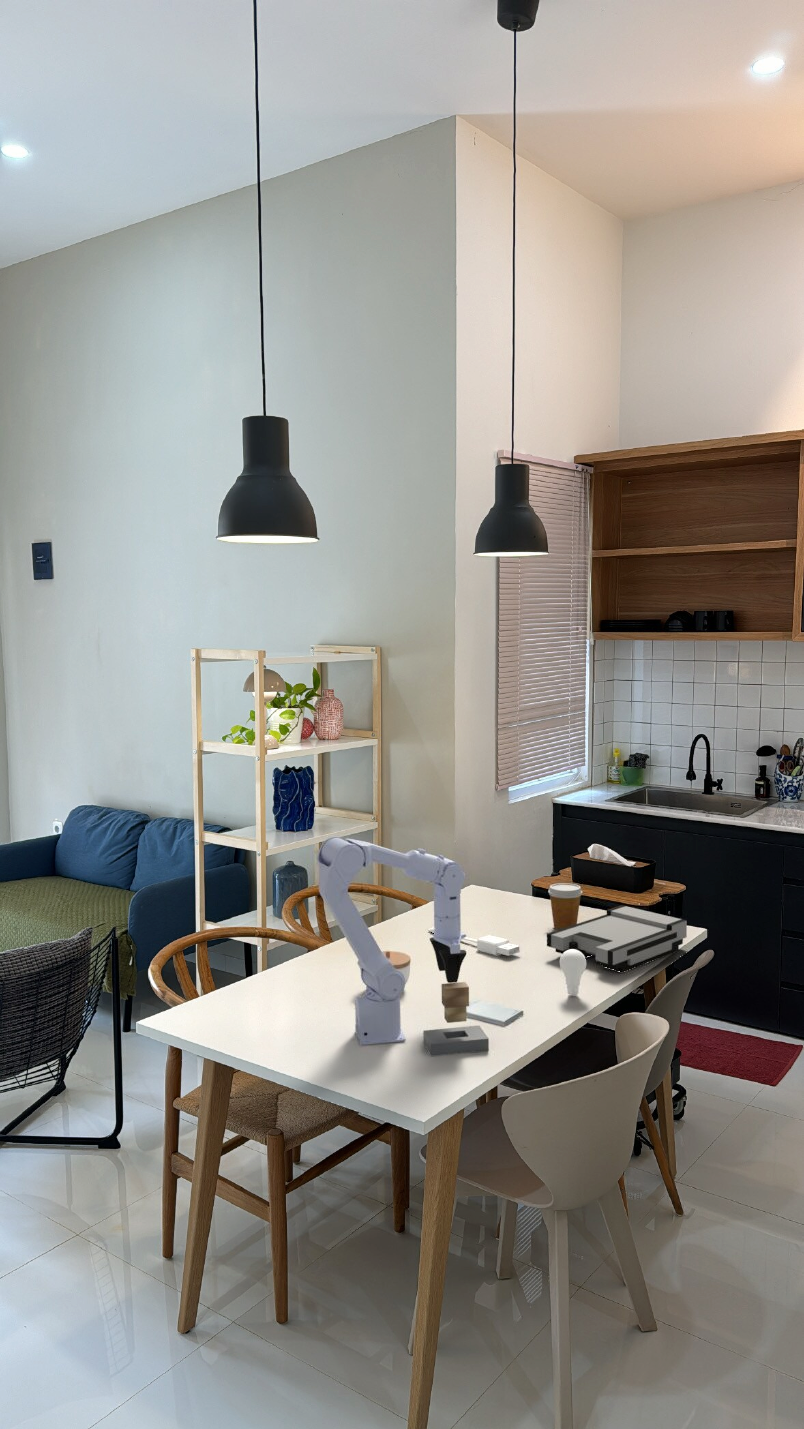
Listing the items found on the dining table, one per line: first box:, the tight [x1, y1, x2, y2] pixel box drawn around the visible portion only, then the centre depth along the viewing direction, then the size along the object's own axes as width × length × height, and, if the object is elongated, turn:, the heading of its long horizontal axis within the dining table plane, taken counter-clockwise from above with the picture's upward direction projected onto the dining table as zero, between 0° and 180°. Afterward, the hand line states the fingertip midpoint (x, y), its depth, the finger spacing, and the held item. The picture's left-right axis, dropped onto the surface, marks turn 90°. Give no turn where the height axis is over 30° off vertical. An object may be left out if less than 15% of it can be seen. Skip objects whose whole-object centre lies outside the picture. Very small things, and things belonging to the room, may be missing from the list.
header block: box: [422, 1025, 490, 1057], centre depth 207 cm, size 12×7×2 cm, turn 101°
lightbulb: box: [559, 949, 587, 997], centre depth 234 cm, size 6×6×11 cm
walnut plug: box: [441, 981, 470, 1024], centre depth 207 cm, size 5×3×7 cm, turn 101°
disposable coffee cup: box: [548, 882, 583, 930], centre depth 287 cm, size 10×10×12 cm
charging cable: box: [427, 926, 521, 957], centre depth 275 cm, size 5×32×3 cm, turn 41°
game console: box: [546, 904, 688, 973], centre depth 264 cm, size 21×32×8 cm, turn 132°
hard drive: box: [466, 998, 524, 1027], centre depth 225 cm, size 2×8×12 cm
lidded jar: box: [382, 950, 411, 986], centre depth 240 cm, size 11×11×9 cm
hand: (447, 976), depth 219 cm, fingers open, 7 cm apart
